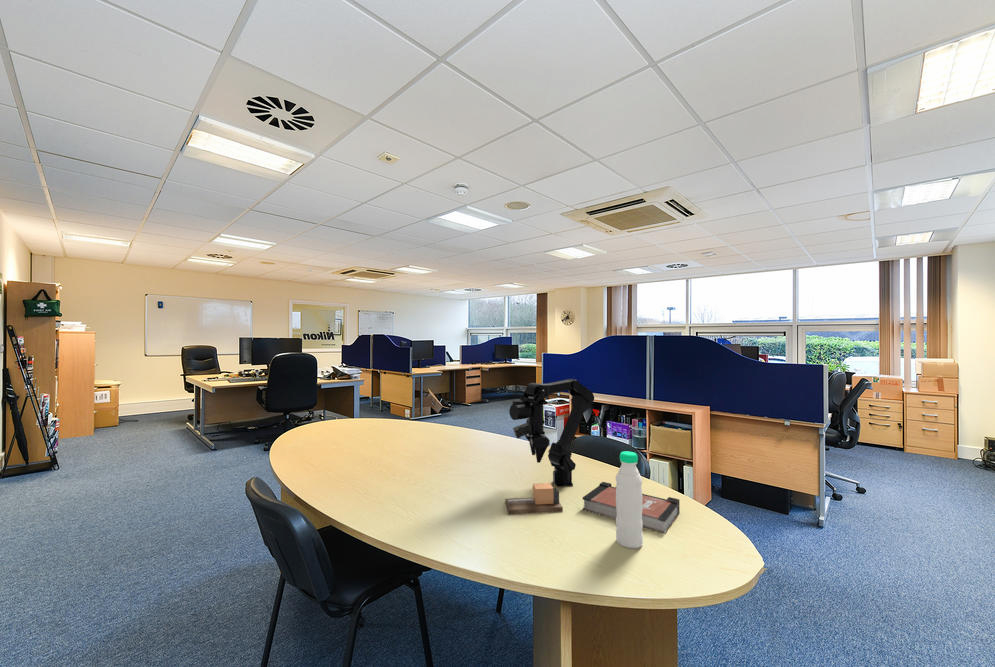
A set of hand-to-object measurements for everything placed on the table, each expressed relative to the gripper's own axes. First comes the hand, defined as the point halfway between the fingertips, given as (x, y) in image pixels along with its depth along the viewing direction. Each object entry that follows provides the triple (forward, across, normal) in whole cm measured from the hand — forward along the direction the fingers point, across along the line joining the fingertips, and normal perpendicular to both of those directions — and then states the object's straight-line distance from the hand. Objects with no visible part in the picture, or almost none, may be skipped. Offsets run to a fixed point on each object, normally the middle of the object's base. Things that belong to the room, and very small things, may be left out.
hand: (536, 458), depth 147 cm
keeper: (+10, +14, -1) cm, 17 cm away
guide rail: (+10, +14, -4) cm, 18 cm away
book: (+13, +21, +27) cm, 37 cm away
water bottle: (+12, +40, +18) cm, 46 cm away
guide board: (+12, +14, -4) cm, 19 cm away
